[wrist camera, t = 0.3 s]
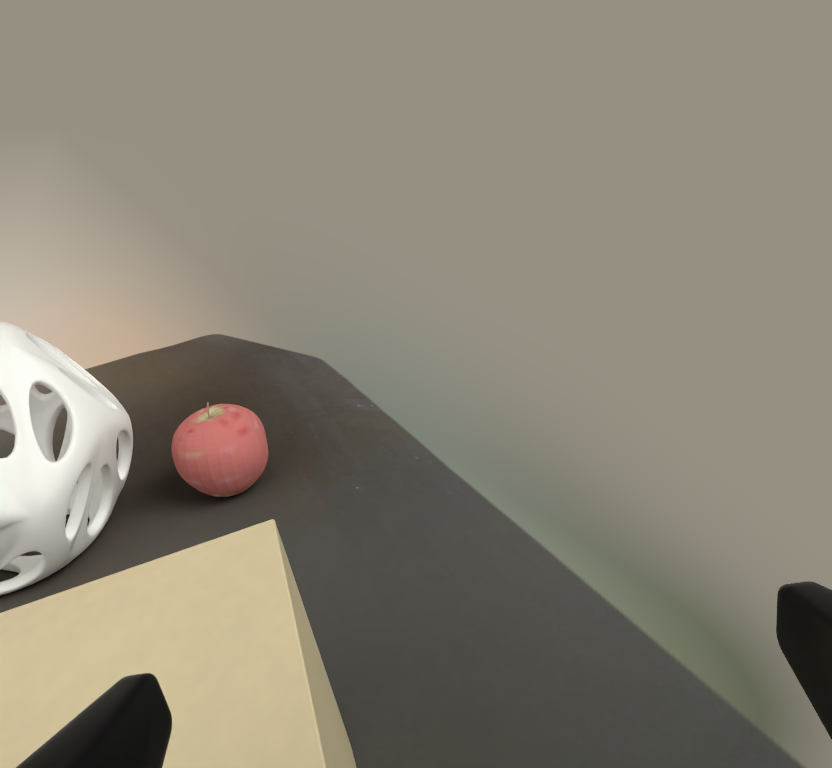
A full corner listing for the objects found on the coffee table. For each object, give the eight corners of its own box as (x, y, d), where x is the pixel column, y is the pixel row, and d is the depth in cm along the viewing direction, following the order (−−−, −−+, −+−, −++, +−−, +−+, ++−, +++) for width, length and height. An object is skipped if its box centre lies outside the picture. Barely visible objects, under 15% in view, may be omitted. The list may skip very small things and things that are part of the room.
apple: (200, 475, 52) (169, 395, 48) (281, 456, 52) (256, 376, 49) (182, 524, 45) (145, 436, 42) (276, 502, 46) (246, 413, 42)
